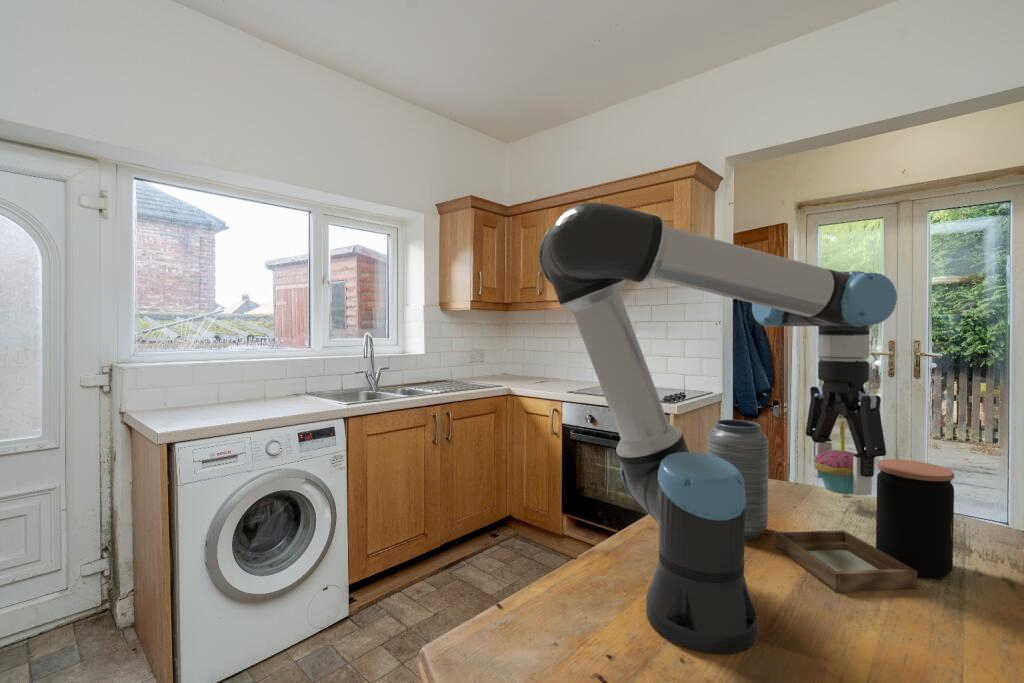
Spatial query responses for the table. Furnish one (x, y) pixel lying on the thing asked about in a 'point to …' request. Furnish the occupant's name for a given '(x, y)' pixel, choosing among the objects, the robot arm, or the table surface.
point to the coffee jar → (916, 515)
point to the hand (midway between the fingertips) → (841, 485)
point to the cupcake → (836, 468)
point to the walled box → (845, 561)
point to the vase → (745, 466)
